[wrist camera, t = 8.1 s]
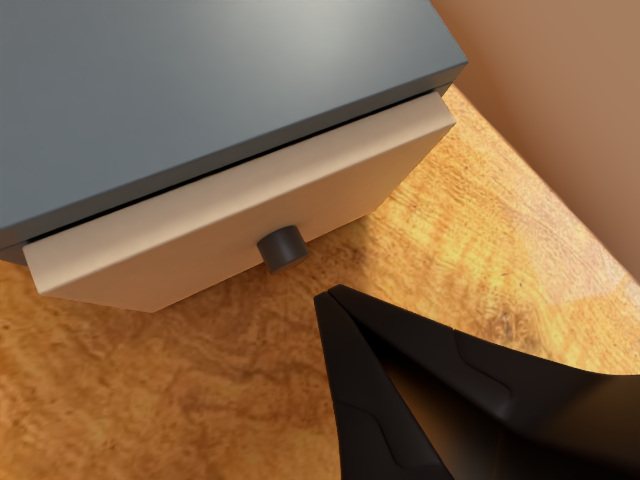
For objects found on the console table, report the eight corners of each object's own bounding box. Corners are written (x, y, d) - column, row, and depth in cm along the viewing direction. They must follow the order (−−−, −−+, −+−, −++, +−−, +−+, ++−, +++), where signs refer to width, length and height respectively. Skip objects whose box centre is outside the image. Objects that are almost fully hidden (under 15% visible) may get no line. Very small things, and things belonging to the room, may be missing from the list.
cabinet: (369, 192, 19) (470, 61, 10) (134, 296, 16) (-49, 248, 6) (256, -12, 21) (250, -276, 12) (31, 42, 18) (-212, -260, 9)
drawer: (387, 231, 17) (479, 156, 10) (162, 339, 15) (56, 348, 7) (262, 6, 20) (262, -191, 12) (47, 61, 17) (-124, -152, 9)
